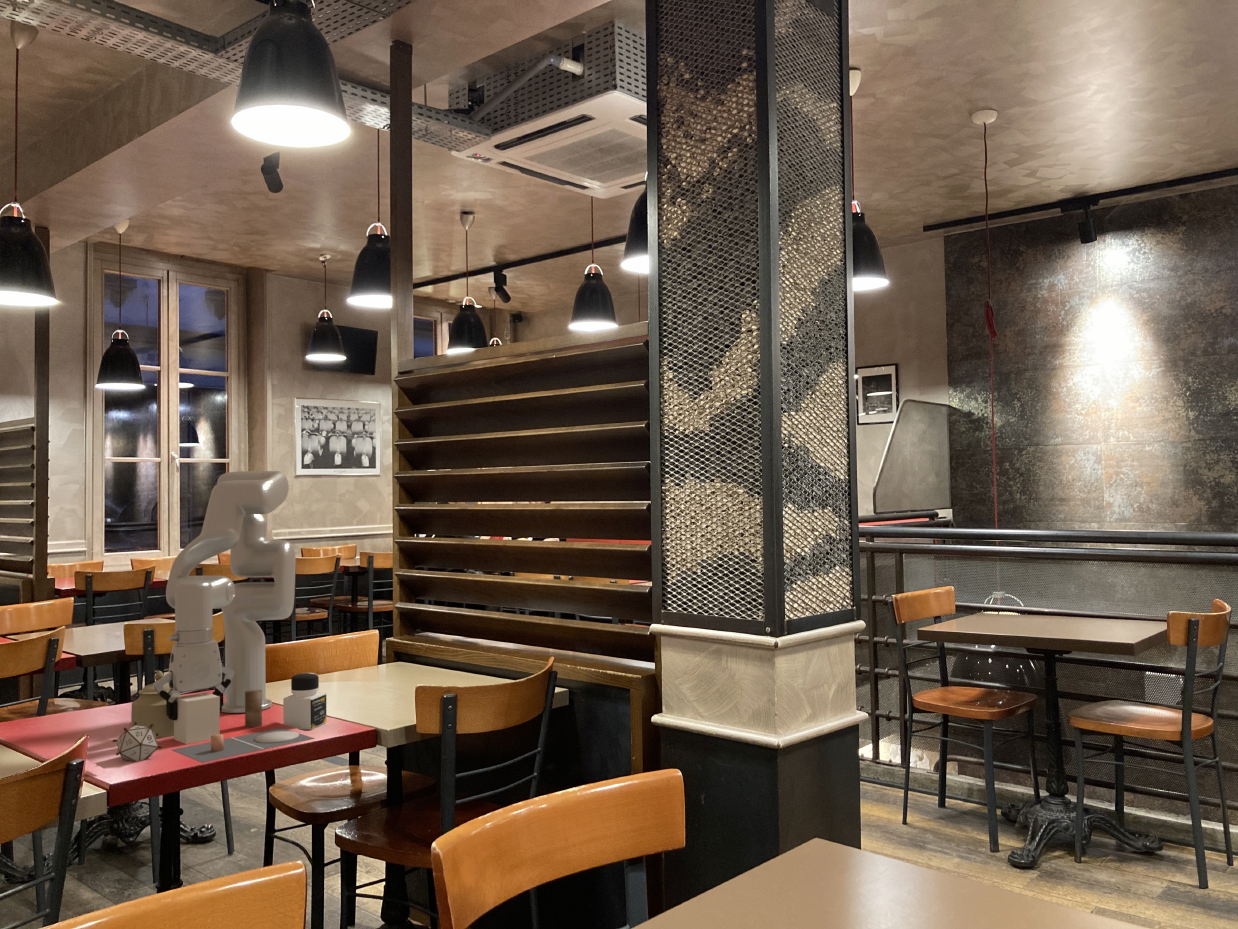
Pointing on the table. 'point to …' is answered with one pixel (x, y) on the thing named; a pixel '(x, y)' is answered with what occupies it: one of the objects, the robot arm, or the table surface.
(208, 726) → the block
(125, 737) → the game die
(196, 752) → the board
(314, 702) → the medicine bottle
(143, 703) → the sugar bowl
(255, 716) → the walnut pin
